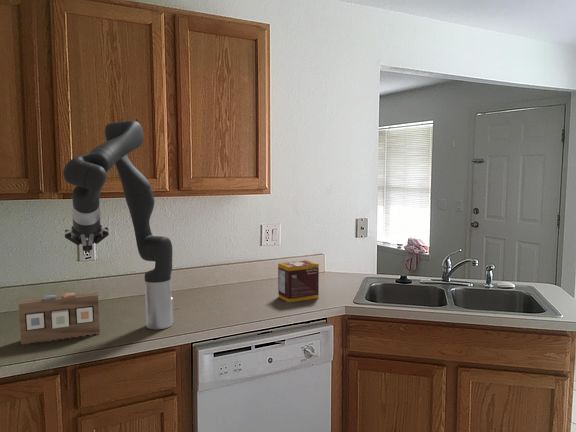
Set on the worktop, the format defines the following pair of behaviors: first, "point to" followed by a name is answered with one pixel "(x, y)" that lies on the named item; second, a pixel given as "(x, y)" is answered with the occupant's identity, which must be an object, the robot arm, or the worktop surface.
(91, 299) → the keypad panel
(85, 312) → the terracotta key
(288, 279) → the supplement box
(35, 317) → the slate key
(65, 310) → the sage key
